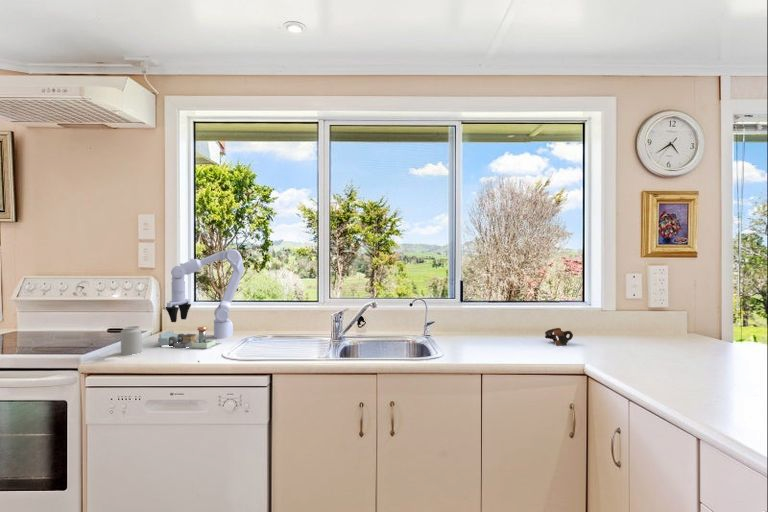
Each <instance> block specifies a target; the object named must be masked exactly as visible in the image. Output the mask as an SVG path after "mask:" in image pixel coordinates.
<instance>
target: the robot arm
mask: <svg viewBox="0 0 768 512" xmlns="http://www.w3.org/2000/svg"><path fill="white" fill-rule="evenodd" d="M216 261H227V262H228V263H230V264H229V265H230V266H231V267H232V269H233V270H232V272H231V273H232V274H231V275H230V278H229V280H228V282H227V286H226V288H225V291H224V293H223V296H222V298H221V300H220V302H219V305H218V306H217V307H216V308H215V309H214V313H213V314H214V317H215V319H213V338H214V339H215V340H217V339H218V340H219V339H220V340H221V339H223V340H224V339H228V338H230V337H232V336H234V324H233V322H232V320H231V319H230V318H229V317H230V310H231V305H232V302H233V299H234V297H235V295H236V292H237V290H238V287H239V284H240V282H241V280H242V276H243V274H244V272H245V266H244V262H243V257H242V255H241V253H240V252H239V250H237V249H236V248H235V249H234V248H231V249H227V250H223V251H218V252H216V253H214V254H210V255H209V256H206V257H204V258H201V259H197V258H191V259H190V260H189V261H186V262H184V263H182V262H181V263H179V265H175V266H174V267H173V268H172V269H171V271H170V274H171V276H172V277H171V300H170V301H168V302H166V306H165V311H167V313H168V315H169V319H170V322H171V323H177V319H178V311H180V319H181V320H187V317H188V314H189V310H190V308H191V306H192V304H191V303H190V300H191V299H189V298H186V281H185V275H186V276H189V275H191V274H194V273H196V272H198V271H201V269H202V268H203V267H204V266H206V265H208V264H212V263H214V262H216Z"/></svg>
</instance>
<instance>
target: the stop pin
mask: <svg viewBox="0 0 768 512" xmlns="http://www.w3.org/2000/svg"><path fill="white" fill-rule="evenodd" d="M207 330H208V326H198V327H197V331H198V341H199V343H206V340H207Z"/></svg>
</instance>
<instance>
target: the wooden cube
mask: <svg viewBox="0 0 768 512" xmlns="http://www.w3.org/2000/svg"><path fill="white" fill-rule="evenodd" d="M183 342H192V343H195V342H197V334H196V333H186V334H185V335H183Z"/></svg>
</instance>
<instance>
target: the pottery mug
mask: <svg viewBox="0 0 768 512" xmlns="http://www.w3.org/2000/svg"><path fill="white" fill-rule="evenodd" d="M544 334H545V336H544V338H545V339H549V340H552V341H553V342H554V343H555V346H556V347H558V346H567V345H568V343H569V341H571V340H572V339H573V337H574V334H573V332H572V331H571V330H564V331H563V330H562V329H561V328H560V327H554V328H552V329H547V330H546V331H545V332H544ZM568 335H569V336H568ZM567 336H568V337H567Z"/></svg>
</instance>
